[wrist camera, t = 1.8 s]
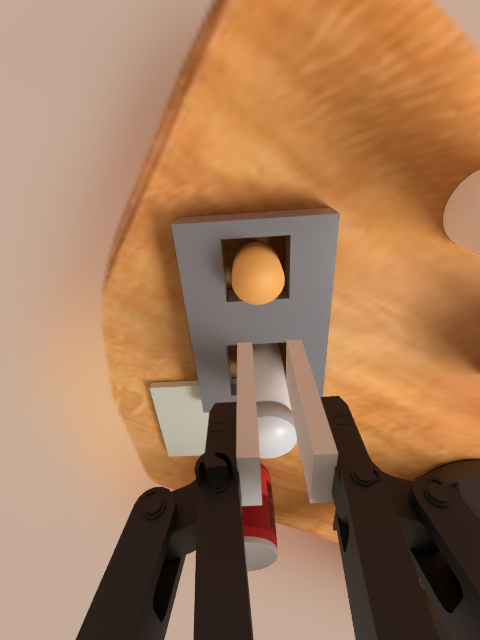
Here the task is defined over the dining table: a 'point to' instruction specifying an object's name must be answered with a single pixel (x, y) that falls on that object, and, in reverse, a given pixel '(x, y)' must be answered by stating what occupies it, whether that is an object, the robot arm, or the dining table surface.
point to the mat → (181, 416)
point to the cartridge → (272, 402)
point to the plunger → (257, 273)
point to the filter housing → (247, 319)
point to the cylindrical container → (464, 214)
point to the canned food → (260, 528)
